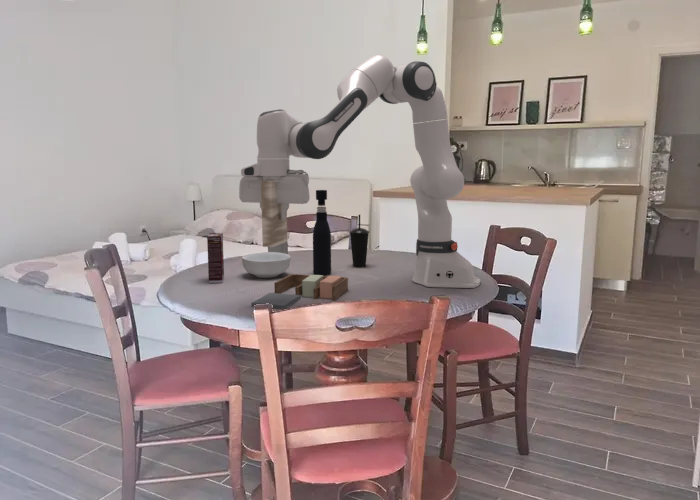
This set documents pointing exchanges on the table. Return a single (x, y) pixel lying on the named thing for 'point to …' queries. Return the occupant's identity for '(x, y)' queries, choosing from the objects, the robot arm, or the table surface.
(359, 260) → the drinking cup
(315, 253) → the wine bottle
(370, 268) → the table surface
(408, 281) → the table surface
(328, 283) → the terracotta offcut
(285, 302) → the slate mat
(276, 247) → the skincare box
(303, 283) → the sage offcut
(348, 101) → the robot arm
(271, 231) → the beige mottled block
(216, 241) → the supplement box
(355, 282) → the table surface
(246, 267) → the cereal bowl
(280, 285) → the offcut rack
